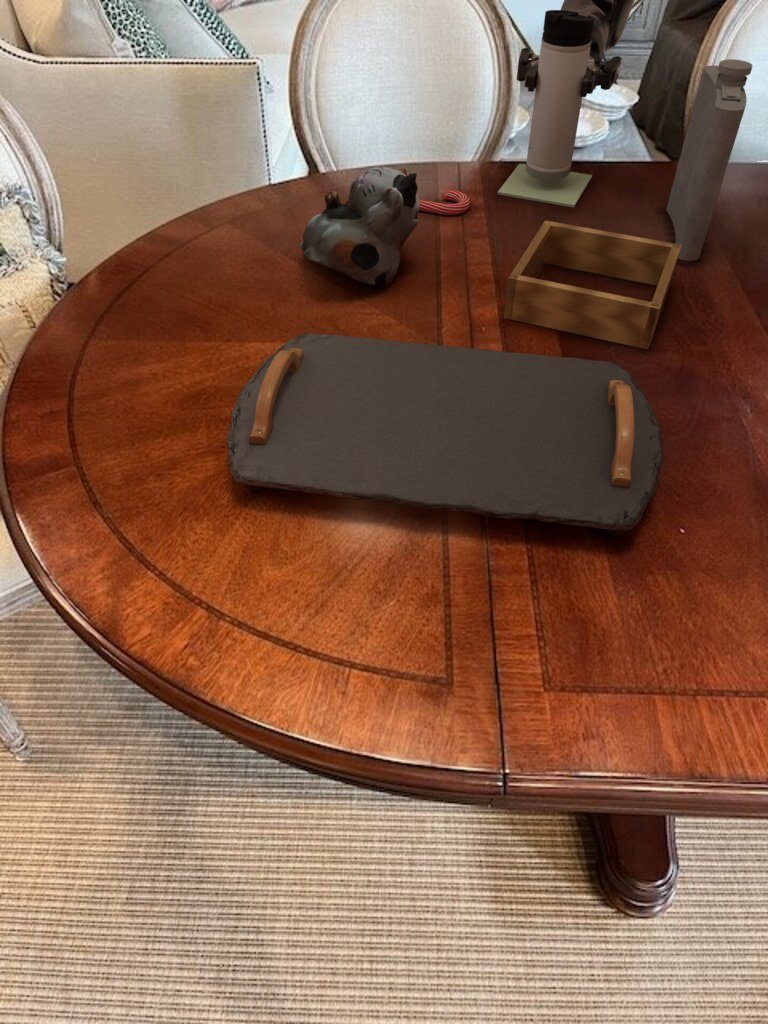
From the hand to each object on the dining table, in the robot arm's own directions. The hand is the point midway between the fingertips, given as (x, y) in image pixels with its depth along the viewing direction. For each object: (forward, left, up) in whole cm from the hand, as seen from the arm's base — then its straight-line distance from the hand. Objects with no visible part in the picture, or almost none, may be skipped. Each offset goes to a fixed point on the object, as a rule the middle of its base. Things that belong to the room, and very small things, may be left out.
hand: (557, 86), depth 101 cm
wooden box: (-13, +27, -14) cm, 33 cm away
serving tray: (-6, +57, -14) cm, 59 cm away
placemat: (0, -2, -14) cm, 14 cm away
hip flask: (-20, +5, -14) cm, 25 cm away
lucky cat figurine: (+15, +30, -14) cm, 36 cm away
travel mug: (0, -2, -12) cm, 12 cm away
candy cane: (+15, +11, -14) cm, 23 cm away
